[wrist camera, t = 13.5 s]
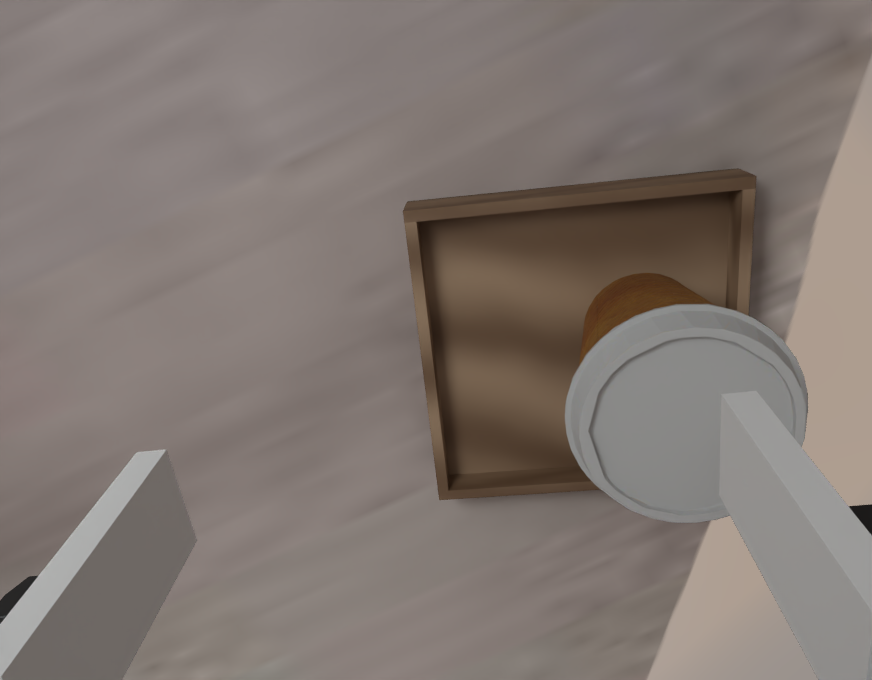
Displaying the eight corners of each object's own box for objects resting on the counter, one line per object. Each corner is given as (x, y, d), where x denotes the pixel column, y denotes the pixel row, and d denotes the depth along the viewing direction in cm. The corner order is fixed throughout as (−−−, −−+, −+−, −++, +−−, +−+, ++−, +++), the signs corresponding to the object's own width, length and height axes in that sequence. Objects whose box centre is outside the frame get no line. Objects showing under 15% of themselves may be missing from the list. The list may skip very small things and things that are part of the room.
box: (407, 201, 38) (403, 211, 36) (738, 168, 37) (756, 176, 34) (440, 476, 44) (439, 499, 42) (724, 457, 43) (739, 480, 40)
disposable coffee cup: (575, 227, 37) (598, 293, 26) (756, 260, 37) (858, 341, 26) (537, 389, 41) (544, 508, 30) (703, 420, 40) (772, 553, 29)
